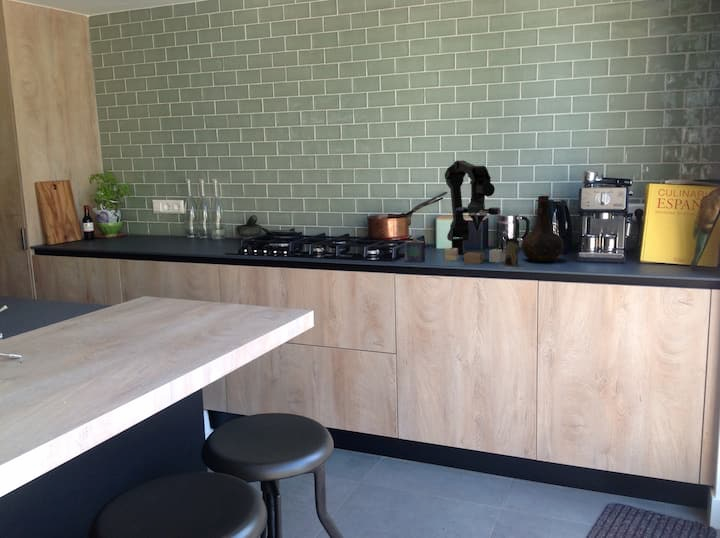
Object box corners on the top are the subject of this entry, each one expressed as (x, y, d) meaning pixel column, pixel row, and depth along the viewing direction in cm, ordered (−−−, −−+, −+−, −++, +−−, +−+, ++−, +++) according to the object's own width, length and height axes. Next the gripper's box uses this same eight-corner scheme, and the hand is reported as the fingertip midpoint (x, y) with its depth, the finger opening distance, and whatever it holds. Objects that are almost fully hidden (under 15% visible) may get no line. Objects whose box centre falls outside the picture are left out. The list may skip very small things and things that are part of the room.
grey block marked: (494, 260, 296) (494, 248, 295) (505, 261, 293) (505, 249, 292) (489, 261, 292) (489, 250, 291) (499, 262, 289) (499, 251, 288)
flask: (404, 261, 298) (403, 237, 296) (406, 260, 300) (406, 236, 298) (423, 262, 294) (423, 238, 292) (426, 261, 296) (425, 237, 294)
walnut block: (468, 260, 296) (468, 252, 296) (483, 261, 293) (483, 252, 293) (463, 263, 290) (463, 254, 289) (479, 264, 287) (479, 255, 286)
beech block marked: (446, 258, 302) (446, 247, 301) (457, 259, 301) (457, 247, 300) (445, 260, 297) (445, 249, 296) (456, 261, 296) (456, 249, 295)
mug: (520, 265, 281) (521, 236, 279) (512, 266, 277) (513, 238, 275) (505, 263, 287) (505, 235, 285) (497, 264, 283) (497, 236, 281)
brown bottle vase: (539, 265, 279) (540, 198, 274) (512, 259, 295) (513, 195, 290) (572, 261, 286) (574, 195, 281) (545, 255, 302) (546, 193, 297)
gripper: (451, 196, 289) (451, 232, 291) (494, 196, 281) (494, 233, 284) (459, 194, 299) (459, 229, 301) (500, 194, 291) (500, 230, 293)
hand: (477, 230), depth 295 cm, fingers closed
